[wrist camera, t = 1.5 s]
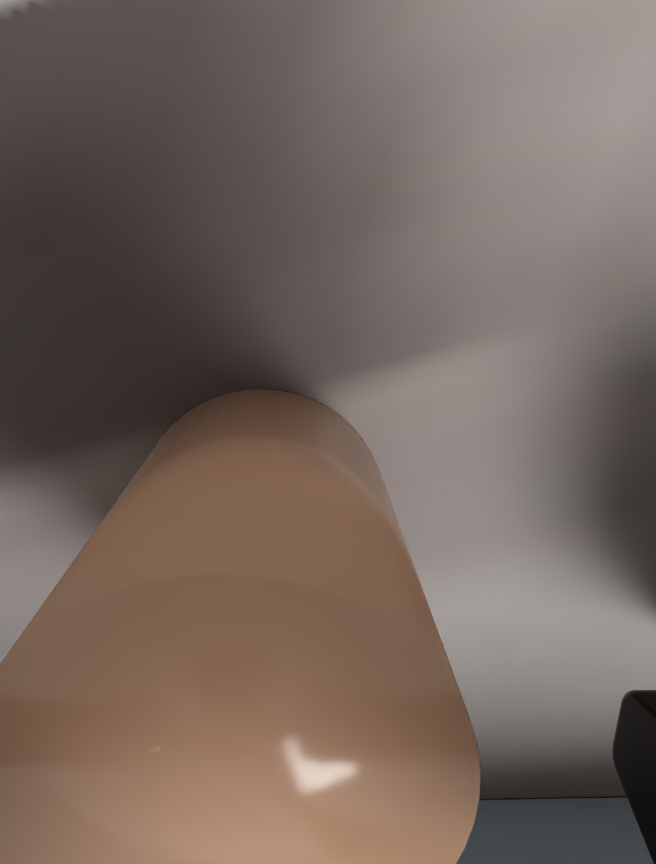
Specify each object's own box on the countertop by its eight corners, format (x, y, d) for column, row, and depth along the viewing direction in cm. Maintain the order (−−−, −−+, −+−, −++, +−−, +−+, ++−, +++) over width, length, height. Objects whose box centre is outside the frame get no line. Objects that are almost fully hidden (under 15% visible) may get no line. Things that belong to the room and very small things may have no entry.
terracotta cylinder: (377, 613, 13) (456, 974, 7) (147, 613, 13) (-7, 990, 7) (391, 391, 12) (508, 573, 5) (132, 386, 12) (-84, 573, 5)
